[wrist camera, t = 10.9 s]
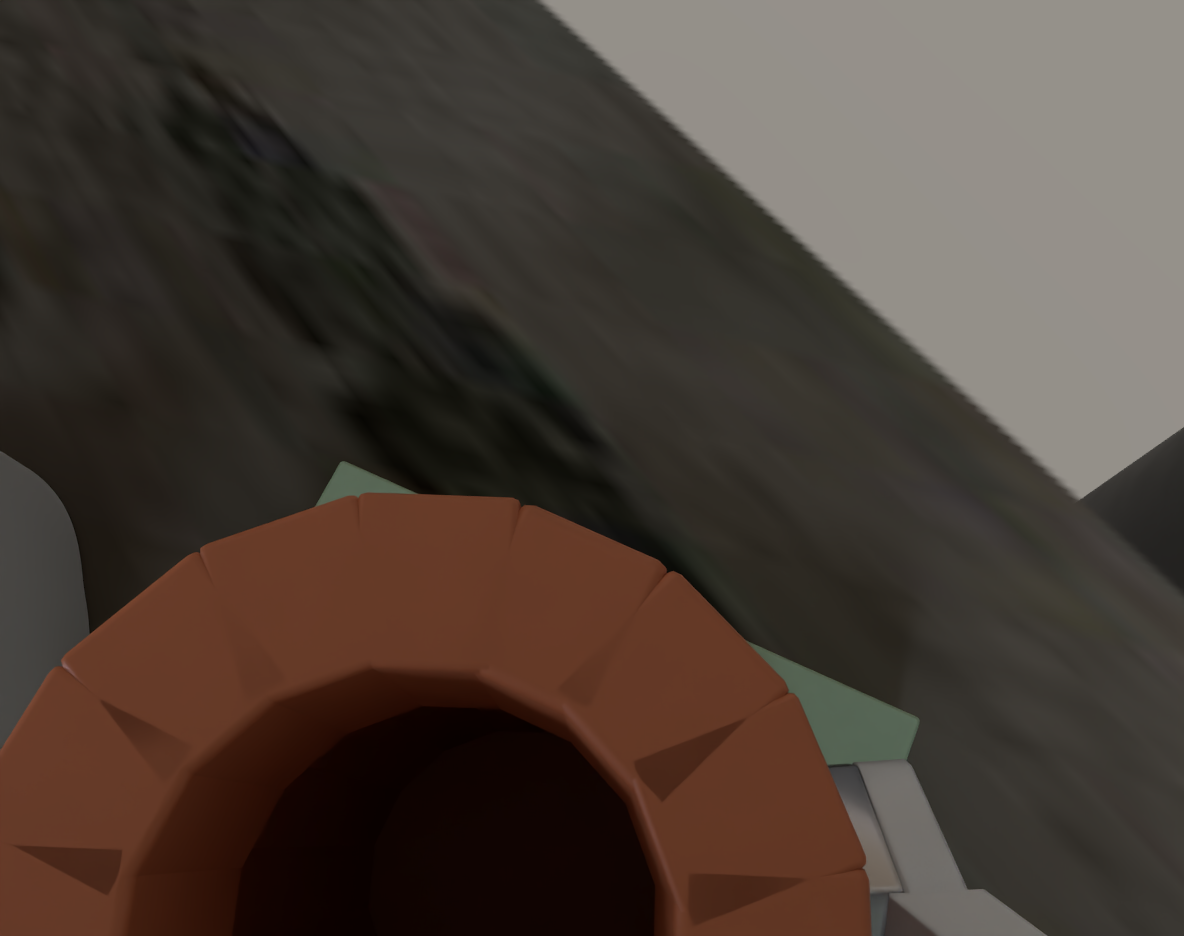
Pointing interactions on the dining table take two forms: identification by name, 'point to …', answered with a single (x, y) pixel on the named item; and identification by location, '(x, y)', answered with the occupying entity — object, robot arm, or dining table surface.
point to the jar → (421, 747)
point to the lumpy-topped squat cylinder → (34, 588)
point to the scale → (833, 709)
